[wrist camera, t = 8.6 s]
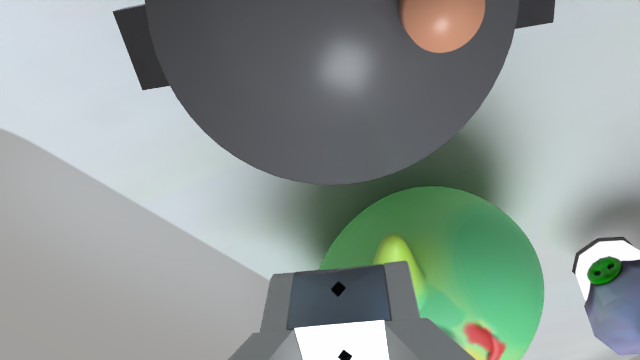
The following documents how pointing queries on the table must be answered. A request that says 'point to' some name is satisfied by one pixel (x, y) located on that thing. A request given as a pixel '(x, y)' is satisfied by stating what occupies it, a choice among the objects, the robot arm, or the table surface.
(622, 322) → the potion bottle
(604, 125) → the table surface
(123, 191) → the table surface
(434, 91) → the lid
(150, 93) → the table surface
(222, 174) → the table surface
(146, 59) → the cooker pot
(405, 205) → the toy bird
